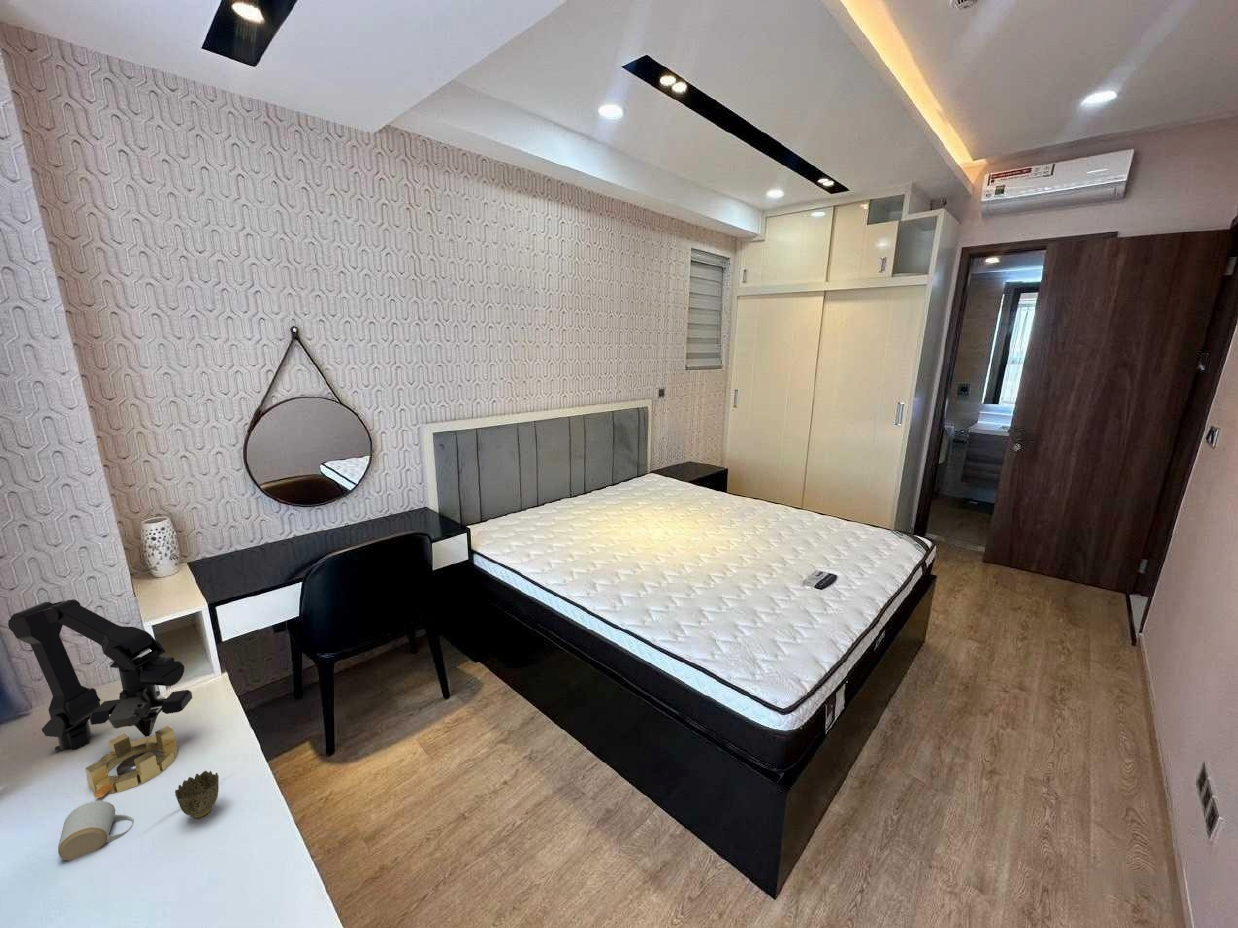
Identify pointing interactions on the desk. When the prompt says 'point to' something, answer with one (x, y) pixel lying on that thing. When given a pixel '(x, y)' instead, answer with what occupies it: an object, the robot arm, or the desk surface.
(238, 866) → the desk surface
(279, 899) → the desk surface
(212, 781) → the cup
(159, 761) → the ring nut
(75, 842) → the ceramic mug
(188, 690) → the robot arm
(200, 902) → the desk surface
